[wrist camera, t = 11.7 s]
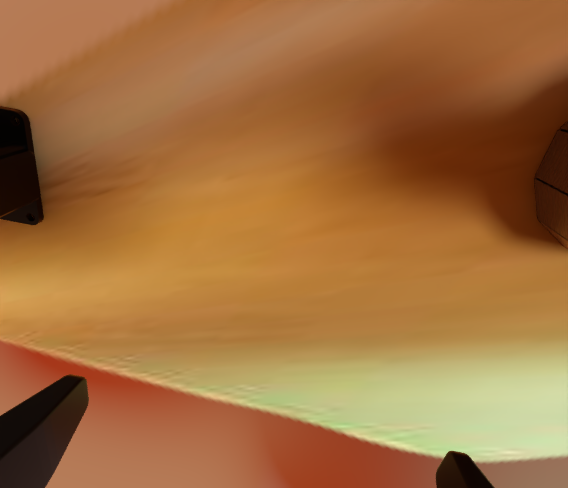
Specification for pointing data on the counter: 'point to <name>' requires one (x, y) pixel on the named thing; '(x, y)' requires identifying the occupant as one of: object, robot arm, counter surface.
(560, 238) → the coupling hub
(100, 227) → the counter surface
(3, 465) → the robot arm
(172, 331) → the counter surface
